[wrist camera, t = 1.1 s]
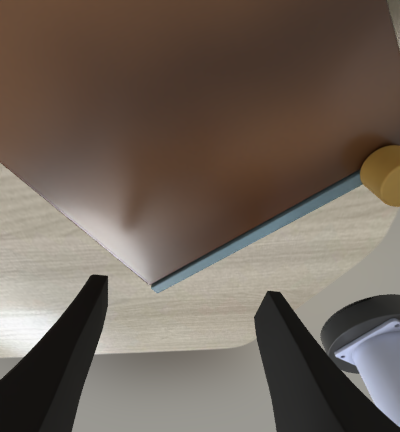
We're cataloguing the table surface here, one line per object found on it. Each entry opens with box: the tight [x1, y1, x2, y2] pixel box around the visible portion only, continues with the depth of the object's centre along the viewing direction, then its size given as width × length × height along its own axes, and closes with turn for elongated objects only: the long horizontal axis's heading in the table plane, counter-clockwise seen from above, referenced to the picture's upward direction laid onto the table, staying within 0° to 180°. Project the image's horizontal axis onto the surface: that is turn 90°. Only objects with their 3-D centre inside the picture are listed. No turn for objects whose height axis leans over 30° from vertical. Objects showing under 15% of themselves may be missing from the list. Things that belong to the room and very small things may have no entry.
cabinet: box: [0, 0, 400, 285], centre depth 13 cm, size 14×15×8 cm
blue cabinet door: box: [151, 145, 400, 293], centre depth 16 cm, size 2×14×10 cm, turn 126°
